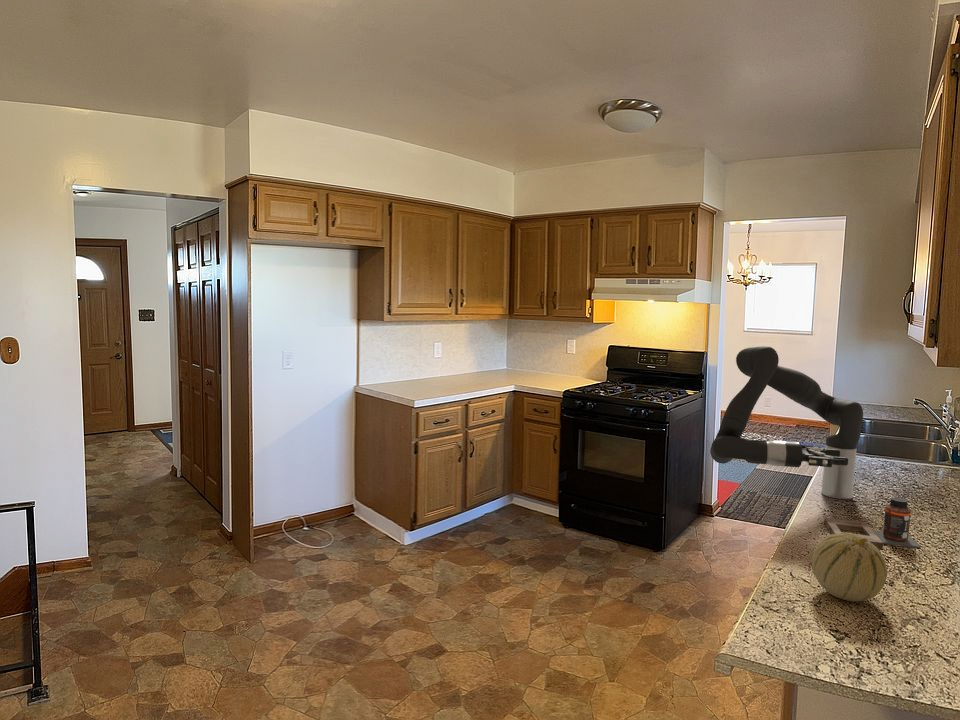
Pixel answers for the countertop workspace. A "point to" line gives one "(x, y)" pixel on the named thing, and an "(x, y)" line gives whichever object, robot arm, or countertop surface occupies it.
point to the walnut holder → (853, 529)
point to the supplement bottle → (897, 520)
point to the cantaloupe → (849, 567)
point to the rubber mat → (908, 543)
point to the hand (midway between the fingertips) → (843, 457)
